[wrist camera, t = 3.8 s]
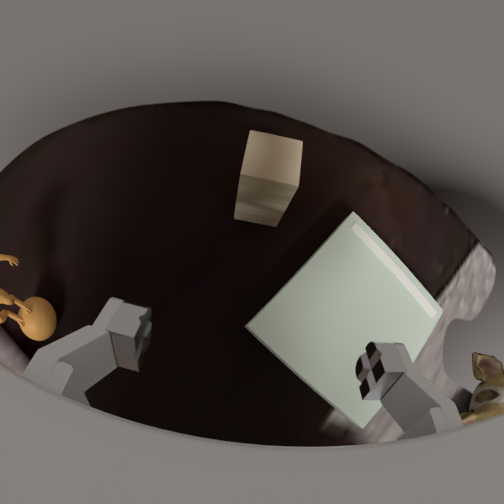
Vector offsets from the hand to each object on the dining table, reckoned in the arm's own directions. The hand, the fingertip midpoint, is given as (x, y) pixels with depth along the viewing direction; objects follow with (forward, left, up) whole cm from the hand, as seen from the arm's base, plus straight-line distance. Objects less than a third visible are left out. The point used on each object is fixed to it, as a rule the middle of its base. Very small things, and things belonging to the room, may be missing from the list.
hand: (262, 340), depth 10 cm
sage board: (-7, -8, -14) cm, 18 cm away
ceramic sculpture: (-30, -13, -15) cm, 36 cm away
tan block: (+7, -10, -14) cm, 19 cm away
